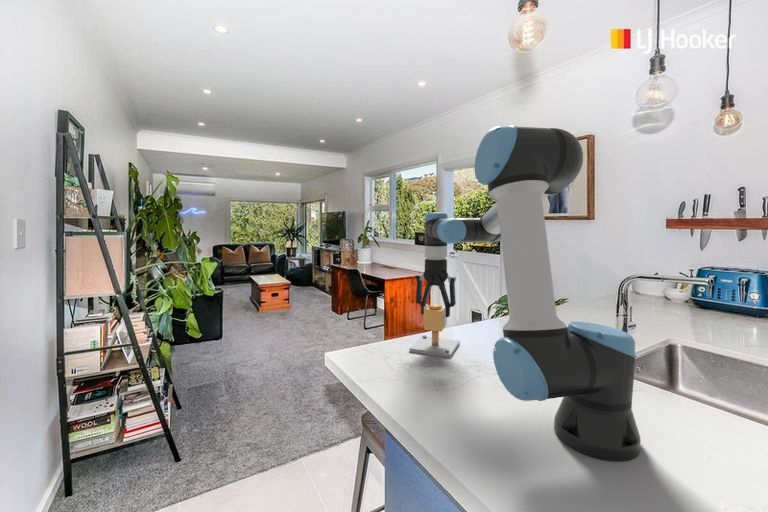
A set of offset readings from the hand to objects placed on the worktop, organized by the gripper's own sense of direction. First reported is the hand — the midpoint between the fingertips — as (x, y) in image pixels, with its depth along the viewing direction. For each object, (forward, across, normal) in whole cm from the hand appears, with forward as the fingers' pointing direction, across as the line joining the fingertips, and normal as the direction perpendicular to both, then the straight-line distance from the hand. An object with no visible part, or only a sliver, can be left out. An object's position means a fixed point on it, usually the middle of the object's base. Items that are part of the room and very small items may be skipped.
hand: (435, 324), depth 124 cm
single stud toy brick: (+1, 0, 0) cm, 1 cm away
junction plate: (+8, 0, 0) cm, 8 cm away
